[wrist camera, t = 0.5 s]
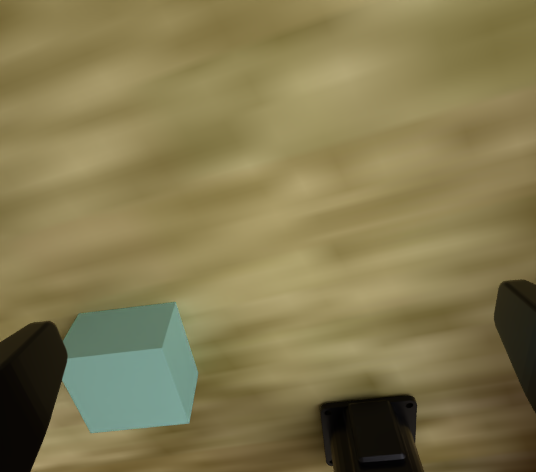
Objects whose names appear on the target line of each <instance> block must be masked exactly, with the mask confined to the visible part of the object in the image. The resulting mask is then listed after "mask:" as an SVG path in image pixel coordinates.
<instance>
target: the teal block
mask: <svg viewBox="0 0 536 472" xmlns="http://www.w3.org/2000/svg"><path fill="white" fill-rule="evenodd" d="M63 343H64V345H65V347H66V350H67V354H68V359H67V364H66V368H65V371H64V375H63V378H62V381H63V383H64V385H65V386H66V388H67V390H68V392H69V394H70V396H71V397H72V399H73V401H74V403H75V405H76V407H77V409H78V410H79V412H80V414H81V416H82V418H83V420H84V422H85V423H86V425H87V427H88V429H89V431H90V433H98V432H108V431H118V430H128V429H138V428H148V427H158V426H168V425H178V424H188V423H189V422H190V416H191V411H192V405H193V400H194V394H195V389H196V383H197V377H198V371H197V368H196V365H195V362H194V358H193V355H192V352H191V349H190V346H189V343H188V339H187V336H186V333H185V330H184V327H183V324H182V321H181V317H180V314H179V311H178V308H177V305H176V302H171V303H163V304H155V305H146V306H138V307H130V308H121V309H113V310H105V311H97V312H88V313H80V314H78V316H77V318H76V319H75V321H74V323H73V324H72V326H71V328H70V330H69V331H68V333H67V335H66V336H65V338H64V340H63Z"/></svg>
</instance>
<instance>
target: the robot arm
mask: <svg viewBox="0 0 536 472" xmlns="http://www.w3.org/2000/svg"><path fill="white" fill-rule="evenodd" d="M494 322H495V326H496V329H497V331H498V333H499V336H500V338H501V340H502V342H503V345H504V347H505V349H506V352H507V354H508V356H509V359H510V361H511V363H512V366H513V368H514V370H515V373H516V375H517V377H518V379H519V382H520V384H521V386H522V388H523V391H524V393H525V395H526V397H527V399H528V401H529V402H530V404H531V406H532V408H533V410H534V411H535V413H536V285H535V284H533V283H531V282H529V281H526V280H510V281H503V282H502V283H501V284H500V285H499V288H498V294H497V300H496V306H495V311H494ZM67 359H68V354H67V350H66V347H65V345H64V343H63V341H62V338H61V336H60V334H59V332H58V329H57V327H56V325H55V324H54V323H53V322H50V321H44V322H34V323H30V324H28V325H27V326H25V327H24V328H22V329H20V330H19V331H17V332H16V333H14V334H13V335H11V336H9V337H8V338H6V339H5V340H3V341H2V342H0V472H30V471H31V469H32V467H33V464H34V462H35V459H36V457H37V454H38V452H39V449H40V447H41V444H42V442H43V439H44V437H45V434H46V431H47V428H48V425H49V422H50V419H51V416H52V412H53V409H54V405H55V402H56V399H57V395H58V392H59V388H60V385H61V382H62V378H63V375H64V371H65V368H66V364H67ZM320 412H321V421H322V429H323V438H324V447H325V455H326V463H327V464H328V465H330V466H333V469H334V472H424V470H423V467H422V464H421V461H420V458H419V455H418V452H417V449H416V446H415V435H416V413H417V403H416V400H415V398H414V397H413V396H400V397H389V398H378V399H368V400H357V401H346V402H336V403H326V404H323V405H322V406H321V407H320Z"/></svg>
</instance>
